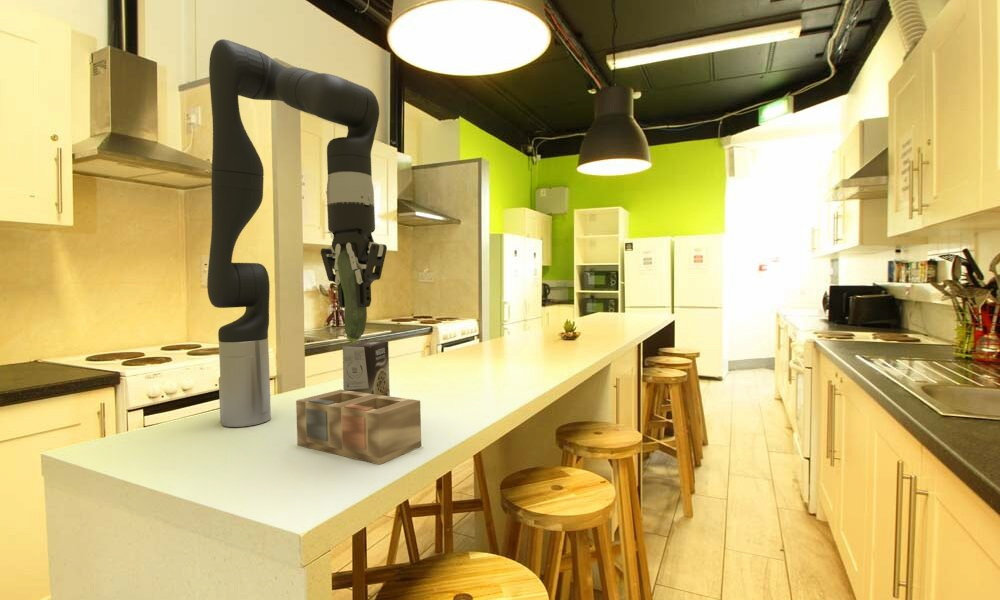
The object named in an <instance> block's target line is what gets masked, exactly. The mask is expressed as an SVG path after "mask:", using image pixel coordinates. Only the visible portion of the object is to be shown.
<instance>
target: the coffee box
mask: <svg viewBox="0 0 1000 600" xmlns="http://www.w3.org/2000/svg"><path fill="white" fill-rule="evenodd" d="M389 351H390V350H389V341H388V340H386V341H385V340H383V341H382V340H381V341H380V340H379V341H378V340H377V341H376V340H374V341H359V342H355V343H352V344H347V345H344V346H343V345H342V369H343V370H342V376H343V377H342V379H343V380H342V382H343V383H342V385H343V389H342V390H347V391H354V392H362V393H369V394H376V395H383V396H391V395H390V393H391V392H390V389H391V388H390V363H389V362H390V360H389V359H390V357H389V356H390V355H389V354H390V353H389Z"/></svg>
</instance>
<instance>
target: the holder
mask: <svg viewBox="0 0 1000 600" xmlns="http://www.w3.org/2000/svg"><path fill="white" fill-rule="evenodd" d="M295 405H296V408H295V409H296V410H295V411H296V435H297V436H296V437H297V438H296V439H297V446H300V447H305V448H309V449H313V450H316V451H321V452H325V453H330V454H334V455H337V456H343V457H346V458H347V457H348V458H350V459H355V460H359V461H363V462H368V463H373V464H375V465H382V464H384V463H387V462H389V461H391V460H393V459H396V458H398V457H401V456H402V455H404V454H406V453H409V452H411V451H413V450H416V449H418V448H420V447H422V423H421V422H422V419H421V416H422V415H421V400H419V399H418V400H417V399H413V398H412V399H410V398H405V397H396V396H391V395H390V396H383V395H376V394H369V393H362V392H354V391H347V390H344V389H337V390H333V391H329V392H324V393H320V394H317V395H313V396H309V397H305V398H301V399H296V400H295Z"/></svg>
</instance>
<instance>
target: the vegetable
mask: <svg viewBox="0 0 1000 600" xmlns="http://www.w3.org/2000/svg"><path fill="white" fill-rule="evenodd" d="M337 264H338V272H339V277H340V283H341V286H342V289H343V293H344V301H345V307H344V313H343V314H344V327H343V328H344V332H345V333H344V334H346V339H347V340H348V342H350V343H352V344H355V343H357V341H358V340H360V339H359V338H361V336H362V335H364V333H365V331H366V326H367V319H368V311H367V309H368V307H358V306H357V285H359V284H358V283H357V279H356V274H355V271H353V270H352V267H351V262H350V257H349V254H348V253H347V249H346V247H345V248H343V250H342V251H341V253H340V254H339V256H338V261H337ZM359 264H362V263H359ZM362 272H363V275H365V274H364V271H363V270H362Z"/></svg>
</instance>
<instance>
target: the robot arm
mask: <svg viewBox="0 0 1000 600" xmlns="http://www.w3.org/2000/svg"><path fill="white" fill-rule="evenodd" d="M212 46H213V47H212V48H211V51H210V56H209V65H208V67H209V68H208V75H209V76H208V77H209V90H210V104H211V115H212V155H211V157H212V159H211V181H210V183H211V184H210V185H211V188H210V189H211V233H210V234H211V236H210V246H209V257H208V267H207V268H208V269H207V279H206V281H207V282H206V283H207V284H206V286H207V295H208V299H209V302H210V303H211V305H212V306H213V307H214V308H219V309H230V308H245V311H244V313H243V314H242V316H240V317H239V318H237V319H235V320H234V321H232V322H229V323H226V324H224V325H222V326H220V327H219V329H218V331H217V332H218V334H217V335H218V337H217V338H218V355H219V356H218V358H219V375H220V376H219V377H218V390H219V391H218V393H219V395H218V396H219V397H218V398H219V414H220V415H219V416H220V417H219V418H220V419H219V421H220V423H221V425H222V426H224V427H228V428H242V427H250V426H255V425H258V424H259V425H261V424H263V423H266V422H269V420H271V419H272V418H271V417H272V412H271V410H272V409H271V408H272V407H271V406H272V405H271V381H270V377H271V376H270V355H269V354H270V353H269V349H270V348H269V328H270V327H269V326H270V293H271V292H270V285H271V284H270V277H269V272H268V270H267V268H266V267H265V265H263V264H262V263H259V262H232V260H233V253H234V249H235V246H236V243H237V241H238V239H239V236H240V235H241V234H242V231H243V230H244V229H245V228H246V226H247V224H248V223H249V222H250V221H251V220H252V218H253V217H254V216H255V214H256V213H257V211H258V210H259V207H260V206H261V204H262V202H263V199H264V198H263V197H264V179H265V178H264V176H265V173H264V165H263V162H262V159H261V158H260V155H259V153H258V151H257V150H256V147H255V146H254V144H253V142H252V140H251V138H250V136H249V134H248V133H247V130H246V129H245V127H244V124H243V121H242V117H241V112H240V103H239V96H240V97H242V98H247V99H251V100H258V101H279V102H283V103H284V104H285V105H287V106H289V108H293V109H295V110H298V111H301V112H304V113H307V114H309V115H313V116H315V117H317V118H320V119H322V120H325V121H329V122H331V123H334V124H338V125H341V126H344V127H347V134H346V136H341V137H340V136H339V137H335V138H332V139H331V140H329V142H328V143H327V147H326V162H327V163H326V167H327V182H326V183H327V184H326V204H327V206H326V207H327V208H326V209H327V210H326V211H327V229H328V232H329V233H332V234H333V236H332V237H333V238H332V242H331V246H329V247H327V248H326V247H325V248H324V247H323V248H321V249H320V255H321V259H322V262H323V265H324V266H323V267H324V269H325V273H326V276H327V280H328V281H329V282H333V283H335V285H336V287H337V301H338V304H339V305H338V306H339V307H340V308H345V301H344V293H343V289H342V286H341V283H340V277H339V272H338V264H337V261H338V256H339V254H340V253H341V251H342V250H343V248H345V247H346V249H347V253H348V254H349V257H350V262H351V267H352V270H353V271H355V274H356V279H357V283H358V284H359V285H357V306H358V307H367V308H369V307H370V306H371V303H372V284H373V282H374V281H375V282H376V281H378V280H381V277H382V272H383V268H384V264H385V258H386V254H387V250H388V247H387V245H386V244H383V243H377V242H374V241H375V240H374V238H373V235H372V233H374V232H375V230H376V217H375V216H376V215H375V212H376V211H375V191H374V190H375V189H374V183H373V178H372V173H373V172H372V155H371V154H372V150H373V149H372V148H373V146H374V141H375V135H376V133H377V128H378V122H379V120H380V119H379V118H380V104H379V102H378V99H377V97H376V94H375V93H374V92H373V91H372V90H371V89H369V88H368V87H366V86H363V85H360V84H358V83H355V82H353V81H350V80H348V79H345V78H343V77H340V76H338V75H334V74H331V73H324V72H323V73H322V72H321V73H320V72H318V71H314V70H309V69H305V68H301V67H298V66H295V67H287V66H285V65H283V64H282V63H279V61H276V60H275V59H273V58H271V57H270V56H268V55H267V54H265V53H264V52H262V51H259V50H257V49H255V48H251V47H248V46H246V45H243V44H240V43H238V42H234V41H233V40H232V41H231V40H229V39H225V38H224V39H223V38H221V39H219V40H217V41H216V42H215V43H214V44H213V45H212ZM359 263H362V264H359ZM362 270H363V271H364V274H365V275H363V272H362ZM334 272H335V273H334Z"/></svg>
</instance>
